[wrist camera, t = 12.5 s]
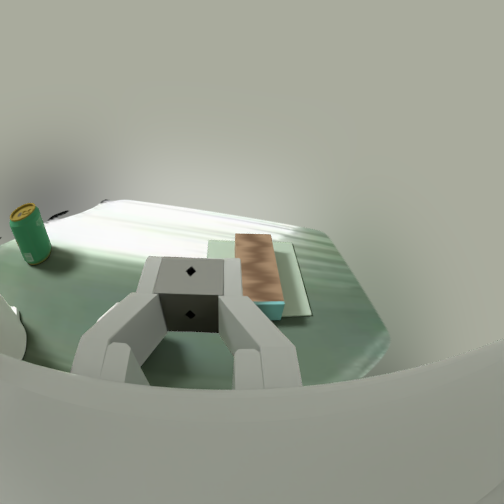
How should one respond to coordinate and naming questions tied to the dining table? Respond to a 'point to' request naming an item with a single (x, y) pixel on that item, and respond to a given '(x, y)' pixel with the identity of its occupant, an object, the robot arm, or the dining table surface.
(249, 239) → the walnut block
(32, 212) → the beverage can
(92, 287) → the dining table surface
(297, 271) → the green mat
